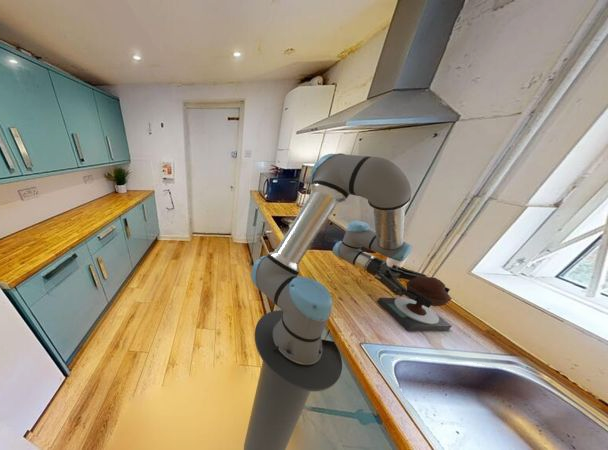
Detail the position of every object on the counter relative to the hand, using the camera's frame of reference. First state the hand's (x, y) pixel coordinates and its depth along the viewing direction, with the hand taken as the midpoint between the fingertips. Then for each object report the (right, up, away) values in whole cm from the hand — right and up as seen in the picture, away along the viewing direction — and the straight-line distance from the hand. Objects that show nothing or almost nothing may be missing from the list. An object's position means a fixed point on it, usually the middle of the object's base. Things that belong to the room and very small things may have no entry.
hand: (439, 298), depth 67 cm
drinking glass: (+11, +1, +31) cm, 33 cm away
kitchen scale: (-3, -9, +8) cm, 12 cm away
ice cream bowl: (-2, -7, +6) cm, 9 cm away
